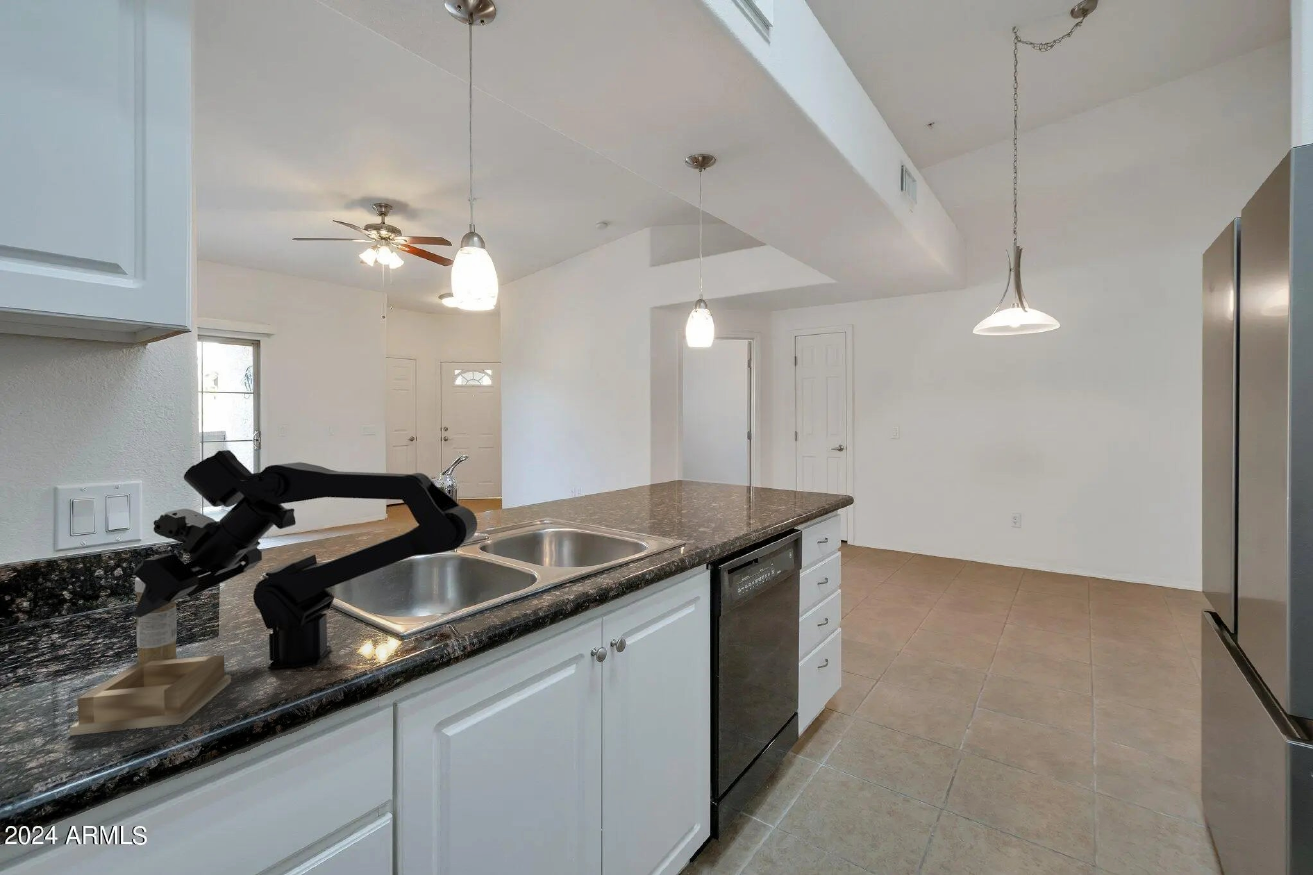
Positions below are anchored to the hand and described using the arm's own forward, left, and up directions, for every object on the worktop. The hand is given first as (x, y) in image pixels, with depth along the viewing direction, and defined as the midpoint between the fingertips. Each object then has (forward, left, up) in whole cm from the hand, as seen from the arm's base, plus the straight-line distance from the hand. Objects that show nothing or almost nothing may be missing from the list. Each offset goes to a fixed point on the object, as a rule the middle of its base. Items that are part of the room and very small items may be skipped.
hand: (163, 604), depth 82 cm
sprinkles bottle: (+1, 0, -9) cm, 9 cm away
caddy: (-7, +14, -9) cm, 18 cm away
